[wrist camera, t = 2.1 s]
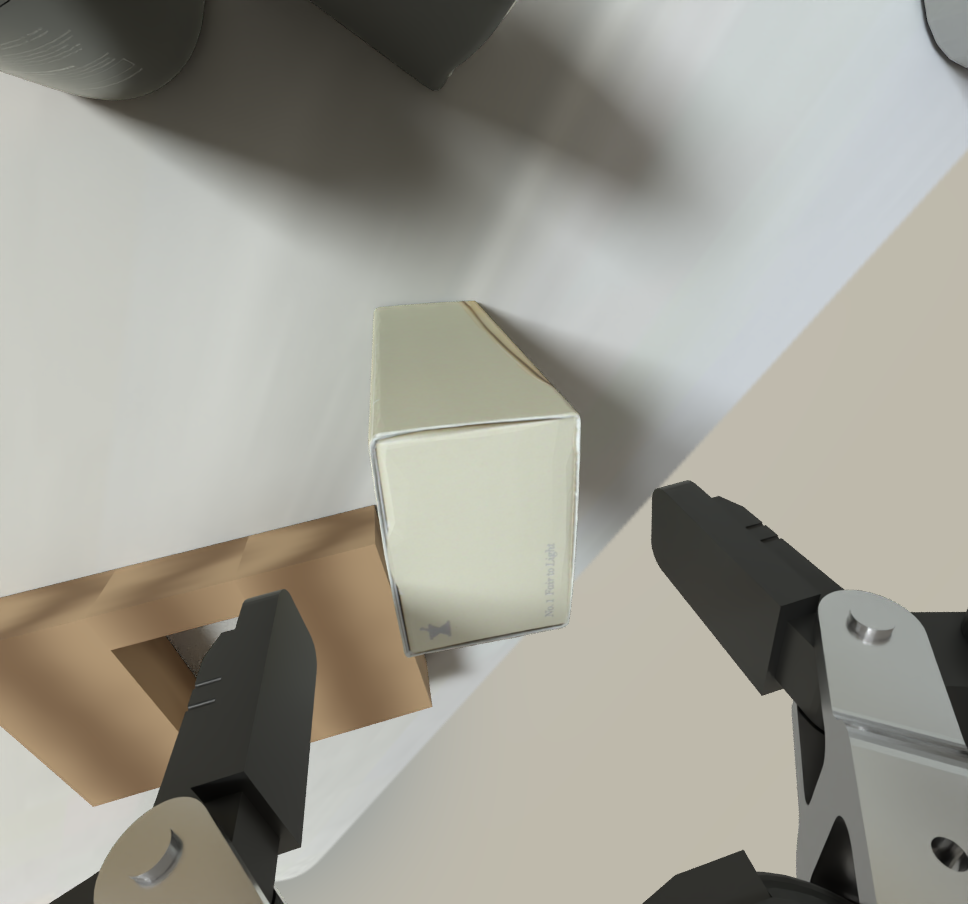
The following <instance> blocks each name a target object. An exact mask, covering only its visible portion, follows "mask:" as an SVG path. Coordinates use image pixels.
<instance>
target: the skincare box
mask: <svg viewBox="0 0 968 904" xmlns="http://www.w3.org/2000/svg"><path fill="white" fill-rule="evenodd" d="M368 445H369V454H370V461H371V468H372V476H373V483H374V490H375V496H376V503H377V509H378V516H379V523H380V530H381V536H382V542H383V549H384V555H385V560H386V565H387V570H388V575H389V580H390V585H391V591H392V597H393V602H394V606H395V611H396V616H397V621H398V625H399V631H400V635H401V639H402V644H403V651H404V654H405V656H406V657H408V658H410V657H414V656H419V655H423V654H427V653H434V652H440V651H446V650H451V649H456V648H462V647H466V646H473V645H477V644H483V643H488V642H494V641H498V640H503V639H510V638H515V637H520V636H524V635H528V634H533V633H539V632H543V631H549V630H554V629H559V628H563V627H565V626H567V625H568V623H569V619H570V611H571V601H572V594H573V581H574V571H575V555H576V542H577V519H578V496H579V469H580V449H581V418H580V415H579V413H578V412H577V411H576V410H575V409H574V408H573V407H572V406H571V405H570V404H569V403H568V402H567V401H566V399H565V398H564V397H563V396H562V395H561V394H560V393H559V392H558V391H557V390H556V389H555V388H554V387H553V385H552V384H551V383H550V382H549V381H548V380H547V379H546V378H545V377H544V376H543V375H542V373H541V372H540V371H539V370H538V369H537V368H536V367H535V366H534V365H533V364H532V362H531V361H530V360H529V359H528V358H527V357H526V356H525V355H524V354H523V352H522V351H520V349H519V348H518V347H517V346H516V345H515V344H514V343H513V342H512V341H511V339H510V338H509V337H508V336H507V335H506V334H505V333H504V332H503V331H502V330H501V328H500V327H499V326H498V325H497V324H496V323H495V322H494V321H493V320H492V319H491V318H490V316H489V315H488V314H487V313H486V312H485V311H484V310H483V309H482V308H481V307H480V306H479V305H478V303H477V302H475V301H460V302H439V303H425V304H411V305H399V306H387V307H379V308H376V309H375V311H374V318H373V344H372V369H371V392H370V416H369V439H368Z"/></svg>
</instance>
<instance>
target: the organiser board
mask: <svg viewBox="0 0 968 904" xmlns="http://www.w3.org/2000/svg"><path fill="white" fill-rule="evenodd" d="M281 589H286V590H287V591H288V592H289V593H290V595H291V597H292V599H293V601H294V603H295V605H296V607H297V609H298V611H299V613H300V615H301V617H302V619H303V621H304V623H305V625H306V627H307V629H308V631H309V633H310V635H311V637H312V640H313V643H314V646H315V651H316V658H317V674H316V685H315V696H314V707H313V719H312V730H311V741H310V743H311V742H315V741H318V740H321V739H325V738H328V737H331V736H335V735H338V734H342V733H345V732H348V731H352V730H355V729H359V728H362V727H365V726H369V725H372V724H376V723H379V722H382V721H386V720H389V719H392V718H396V717H399V716H403V715H406V714H409V713H413V712H416V711H420V710H423V709H426V708H430V707H432V701H431V693H430V685H429V677H428V669H427V661H426V659H425V656H424V654H423V655H419V656H414V657H410V658H408V657H406V656H405V654H404V651H403V644H402V639H401V635H400V631H399V625H398V621H397V616H396V611H395V606H394V602H393V597H392V591H391V585H390V580H389V575H388V570H387V565H386V560H385V555H384V549H383V542H382V536H381V530H380V523H379V518H378V515H377V512H376V509H375V506H374V505H372V506H368V507H364V508H360V509H356V510H352V511H348V512H344V513H340V514H336V515H332V516H328V517H324V518H320V519H316V520H312V521H308V522H304V523H300V524H296V525H292V526H288V527H284V528H279V529H275V530H271V531H267V532H263V533H259V534H255V535H251V536H247V537H243V538H239V539H235V540H231V541H227V542H223V543H219V544H215V545H211V546H207V547H203V548H199V549H195V550H191V551H187V552H183V553H179V554H175V555H171V556H167V557H163V558H159V559H155V560H151V561H147V562H143V563H139V564H135V565H131V566H127V567H123V568H118V569H114V570H110V571H106V572H102V573H98V574H94V575H90V576H86V577H82V578H78V579H74V580H70V581H66V582H62V583H58V584H54V585H50V586H46V587H42V588H38V589H34V590H30V591H26V592H22V593H18V594H14V595H10V596H6V597H2V598H0V726H1V727H2V728H4V729H5V730H6V731H7V732H8V733H9V734H10V735H12V736H13V737H14V738H15V739H16V740H17V741H18V742H20V743H21V744H22V745H23V746H24V747H25V748H27V749H28V750H29V751H30V752H31V753H32V754H33V755H35V756H36V757H37V758H38V759H39V760H40V761H41V762H43V763H44V764H45V765H46V766H47V767H48V768H49V769H51V770H52V771H53V772H54V773H55V774H56V775H57V776H59V777H60V778H61V779H62V780H63V781H64V782H65V783H67V784H68V785H69V786H70V787H71V788H72V789H73V790H75V791H76V792H77V793H78V794H79V795H80V796H81V797H83V798H84V799H85V800H86V801H87V802H88V803H89V804H91V805H92V806H93V807H94V806H98V805H101V804H104V803H108V802H111V801H115V800H118V799H121V798H125V797H128V796H132V795H135V794H138V793H142V792H145V791H149V790H152V789H155V788H159V787H160V786H161V783H162V780H163V777H164V774H165V771H166V768H167V765H168V762H169V759H170V756H171V753H172V750H173V747H174V744H175V741H176V738H177V735H178V732H179V729H180V726H181V724H182V721H183V718H184V715H185V712H186V711H188V703H189V700H190V697H191V694H192V691H193V689H195V682H196V677H195V676H194V675H193V673H192V672H191V671H190V669H189V668H188V667H187V665H186V664H185V662H184V661H183V660H182V658H181V657H180V656H179V654H178V653H177V651H176V650H175V649H174V647H173V646H172V645H171V643H170V642H169V640H168V639H167V638H166V636H167V635H170V634H174V633H178V632H182V631H185V630H189V629H193V628H197V627H201V626H204V625H208V624H212V623H216V622H220V621H223V620H227V619H231V618H235V617H238V616H239V614H240V610H241V607H242V604H243V602H244V601H245V600H246V599H248V598H252V597H255V596H259V595H263V594H266V593H270V592H274V591H277V590H281Z"/></svg>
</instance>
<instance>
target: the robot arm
mask: <svg viewBox="0 0 968 904" xmlns="http://www.w3.org/2000/svg"><path fill="white" fill-rule="evenodd" d="M924 3H925V9H926V15H927V21H928V24H929V27H930V29H931V31H932V34H933V36H934V38H935V41H936V43H937V45H938V46H939V47H940V48H941V50H942V51H943V52H944V53H945V54H946V55H947V57H948V58H949V59H950V60H952V61H954V62H956V63H958V64H959V65H961V66H963V67H965V68H968V0H924ZM651 537H652V538H651V543H652V549H653V553H654V556H655V558H656V561H657V563H658V565H659V567H660V568H661V570H662V571H663V572H664V573H665V575H666V576H667V577H668V578H669V580H670V581H671V582H672V584H673V585H674V586H675V587H676V589H677V590H678V591H679V592H680V594H681V595H682V596H683V597H684V599H685V600H686V601H687V602H688V604H689V605H690V606H691V607H692V609H693V610H694V611H695V612H696V613H697V615H698V616H699V617H700V619H701V620H702V621H703V622H704V624H705V625H706V626H707V627H708V629H709V630H710V631H711V632H712V634H713V635H714V636H715V637H716V639H717V640H718V641H719V642H720V644H721V645H722V646H723V648H724V649H725V650H726V651H727V653H728V654H729V655H730V656H731V658H732V659H733V660H734V661H735V663H736V664H737V665H738V666H739V668H740V669H741V670H742V671H743V672H744V674H745V675H746V676H747V678H748V679H749V680H750V681H751V683H752V684H753V685H754V686H755V687H756V689H757V690H758V691H759V693H760V694H761V695H766V694H769V693H772V692H774V691H777V690H781V689H785V691H786V692H787V693H788V694H789V696H790V697H791V698H792V699H793V704H792V723H793V737H794V750H795V764H796V777H797V790H798V804H799V829H798V838H797V852H796V875H797V878H793V877H790V876H786V875H781V874H774V873H766V872H756V871H755V869H754V867H753V865H752V864H751V862H750V860H749V859H748V857H747V855H746V853H745V851H744V850H742V851H739V852H736V853H734V854H731V855H728V856H726V857H723V858H720V859H718V860H715V861H712V862H710V863H707V864H704V865H702V866H699V867H696V868H693V869H691V870H688V871H685V872H683V873H680V874H677V875H675V876H674V877H673V878H671V879H670V880H669V881H668V882H667V883H666V884H665V885H663V886H662V887H661V888H660V889H659V890H658V891H656V892H655V893H654V894H653V895H652V896H651V897H650V898H648V899H647V900H646V901H645V902H644V903H643V904H968V609H967V612H916V613H915V612H909V611H908V610H907V609H905V608H904V607H902V606H900V605H899V604H897V603H895V602H893V601H892V600H890V599H887V598H885V597H883V596H880V595H876V594H873V593H870V592H865V591H859V590H844V589H843V588H841V587H840V586H839V585H838V584H836V583H835V582H834V581H833V580H832V579H830V578H829V577H828V576H827V575H826V574H824V573H823V572H822V571H821V570H819V569H818V568H817V567H816V566H814V565H813V564H812V563H811V562H810V561H809V560H807V559H806V558H805V557H804V556H802V555H801V554H800V553H799V552H797V551H796V550H795V549H794V548H793V547H792V546H790V545H789V544H788V543H787V542H785V541H784V540H783V539H779V538H778V535H777V534H775V533H774V532H773V531H772V530H771V529H770V528H768V527H767V526H766V525H765V526H763V524H762V522H761V521H760V520H759V519H758V518H756V517H755V516H754V515H753V514H751V513H750V512H749V511H748V510H747V509H745V508H744V507H743V506H740V505H738V504H736V503H733V502H731V501H729V500H727V499H724V498H722V497H720V496H718V497H714V498H711V497H710V496H709V495H708V494H706V493H705V492H704V491H703V490H702V489H701V488H700V487H698V486H697V485H696V484H695V483H693V482H691V481H688V480H687V481H683V482H679V483H676V484H672V485H668V486H665V487H661V488H657V489H655V490H654V492H653V495H652V535H651ZM316 674H317V658H316V651H315V646H314V643H313V640H312V637H311V635H310V633H309V631H308V629H307V627H306V625H305V623H304V621H303V619H302V617H301V615H300V613H299V611H298V609H297V607H296V605H295V603H294V601H293V599H292V597H291V595H290V593H289V592H288V591H287V590H286V589H281V590H277V591H274V592H270V593H266V594H263V595H259V596H255V597H252V598H248V599H246V600H245V601H244V602H243V604H242V607H241V610H240V614H239V618H238V621H237V625H236V628H235V629H234V630H231V631H227V632H223V633H221V635H220V636H219V637H218V639H217V640H216V641H215V643H214V644H213V646H212V647H211V648H210V650H209V651H208V652H207V654H206V655H205V657H204V658H203V661H202V664H201V667H200V670H199V673H198V676H197V679H196V682H195V689H193V691H192V694H191V697H190V700H189V703H188V711H186V712H185V715H184V718H183V721H182V724H181V726H180V729H179V732H178V735H177V738H176V741H175V744H174V747H173V750H172V753H171V756H170V759H169V762H168V765H167V768H166V771H165V774H164V777H163V780H162V783H161V786H160V789H159V792H158V795H157V798H156V801H155V803H154V806H153V808H152V809H150V810H149V811H147V812H146V813H144V814H143V815H142V816H141V817H139V818H138V819H137V820H136V821H135V822H134V823H133V824H132V825H131V826H130V827H129V828H128V829H127V830H126V831H125V832H124V833H123V834H122V835H121V837H120V838H119V839H118V840H117V842H116V843H115V844H114V846H113V847H112V849H111V850H110V852H109V854H108V855H107V857H106V858H105V861H104V863H103V865H102V867H101V869H100V871H98V872H97V873H96V874H94V875H93V876H91V877H90V878H88V879H87V880H85V881H84V882H82V883H81V884H79V885H77V886H76V887H74V888H73V889H71V890H70V891H68V892H66V893H65V894H63V895H62V896H60V897H59V898H57V899H55V900H54V901H52V902H51V903H49V904H287V903H286V901H285V900H284V898H283V897H282V895H281V893H280V892H279V890H278V889H277V887H276V886H275V885H274V881H275V873H276V865H277V857H278V855H279V854H282V853H285V852H288V851H291V850H294V849H297V848H300V847H301V842H302V831H303V820H304V808H305V797H306V786H307V775H308V764H309V752H310V741H311V730H312V719H313V707H314V696H315V685H316Z"/></svg>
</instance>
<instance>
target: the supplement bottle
mask: <svg viewBox="0 0 968 904" xmlns="http://www.w3.org/2000/svg"><path fill="white" fill-rule="evenodd" d="M203 14H204V0H0V72H3V73H6V74H9V75H13V76H16V77H19V78H22V79H25V80H28V81H31V82H34V83H37V84H40V85H43V86H46V87H49V88H52V89H56V90H59V91H63V92H66V93H69V94H73V95H77V96H81V97H86V98H92V99H99V100H126V99H132V98H137V97H140V96H143V95H147V94H149V93H151V92H153V91H156V90H157V89H159V88H161V87H162V86H164V85H165V84H167V83H168V82H169V81H170V80H172V79H173V78H174V77H175V76H176V75H177V74H178V73H179V72H180V71H181V69H182V68H183V67H184V65H185V64H186V63H187V61H188V60H189V58H190V56H191V54H192V52H193V50H194V48H195V45H196V43H197V40H198V37H199V34H200V30H201V26H202V20H203Z"/></svg>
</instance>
